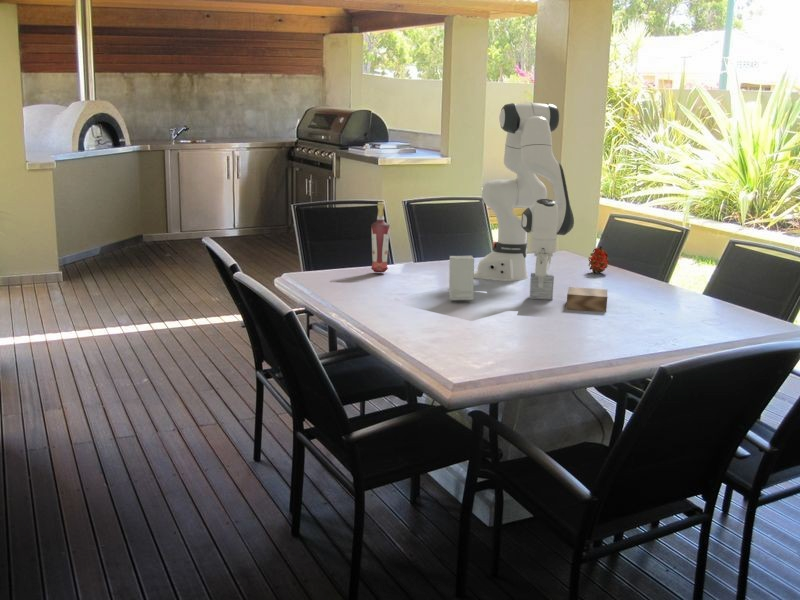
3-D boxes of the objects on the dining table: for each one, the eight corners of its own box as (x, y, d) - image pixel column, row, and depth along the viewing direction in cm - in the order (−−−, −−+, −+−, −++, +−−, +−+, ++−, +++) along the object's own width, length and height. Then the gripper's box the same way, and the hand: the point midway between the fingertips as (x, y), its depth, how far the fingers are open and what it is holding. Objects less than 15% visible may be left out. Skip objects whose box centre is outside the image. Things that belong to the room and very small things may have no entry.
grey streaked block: (551, 297, 300) (553, 273, 298) (552, 300, 295) (554, 275, 294) (529, 296, 301) (530, 272, 299) (529, 299, 296) (531, 274, 294)
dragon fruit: (584, 272, 352) (586, 243, 350) (605, 272, 352) (607, 244, 350) (589, 275, 344) (591, 246, 341) (610, 276, 344) (612, 247, 341)
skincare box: (471, 296, 298) (473, 255, 294) (473, 300, 292) (475, 258, 289) (447, 296, 297) (449, 254, 294) (449, 300, 291) (451, 257, 288)
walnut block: (566, 308, 282) (567, 294, 281) (568, 301, 294) (568, 286, 293) (606, 311, 279) (607, 296, 278) (606, 303, 292) (607, 289, 290)
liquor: (388, 273, 339) (389, 203, 333) (370, 272, 339) (371, 203, 333) (388, 270, 346) (390, 201, 340) (370, 269, 346) (372, 201, 340)
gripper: (551, 251, 284) (548, 291, 286) (554, 243, 303) (552, 280, 306) (532, 250, 285) (530, 290, 288) (537, 242, 304) (534, 279, 307)
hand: (541, 285), depth 297 cm, fingers open, 6 cm apart
